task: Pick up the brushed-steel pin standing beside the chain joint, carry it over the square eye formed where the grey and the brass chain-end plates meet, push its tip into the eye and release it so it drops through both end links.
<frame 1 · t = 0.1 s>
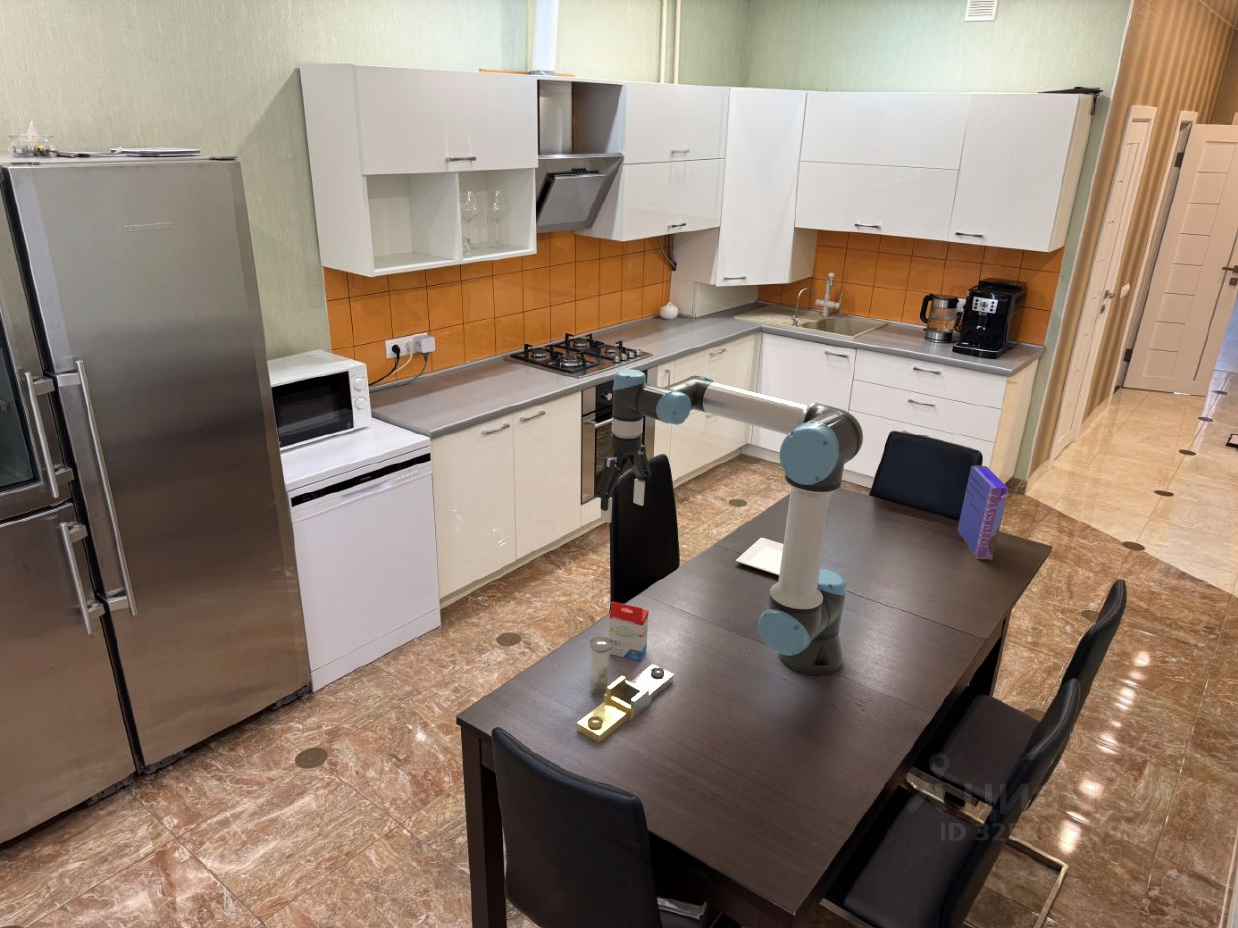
hand: (622, 512, 218), 28 cm above the table, fingers open, 13 cm apart
ink box: (627, 653, 210), on the table
pin: (599, 690, 196), on the table
chain end a: (627, 704, 192), on the table
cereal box: (973, 546, 272), on the table
chain end b: (627, 704, 192), on the table
plate: (776, 563, 256), on the table
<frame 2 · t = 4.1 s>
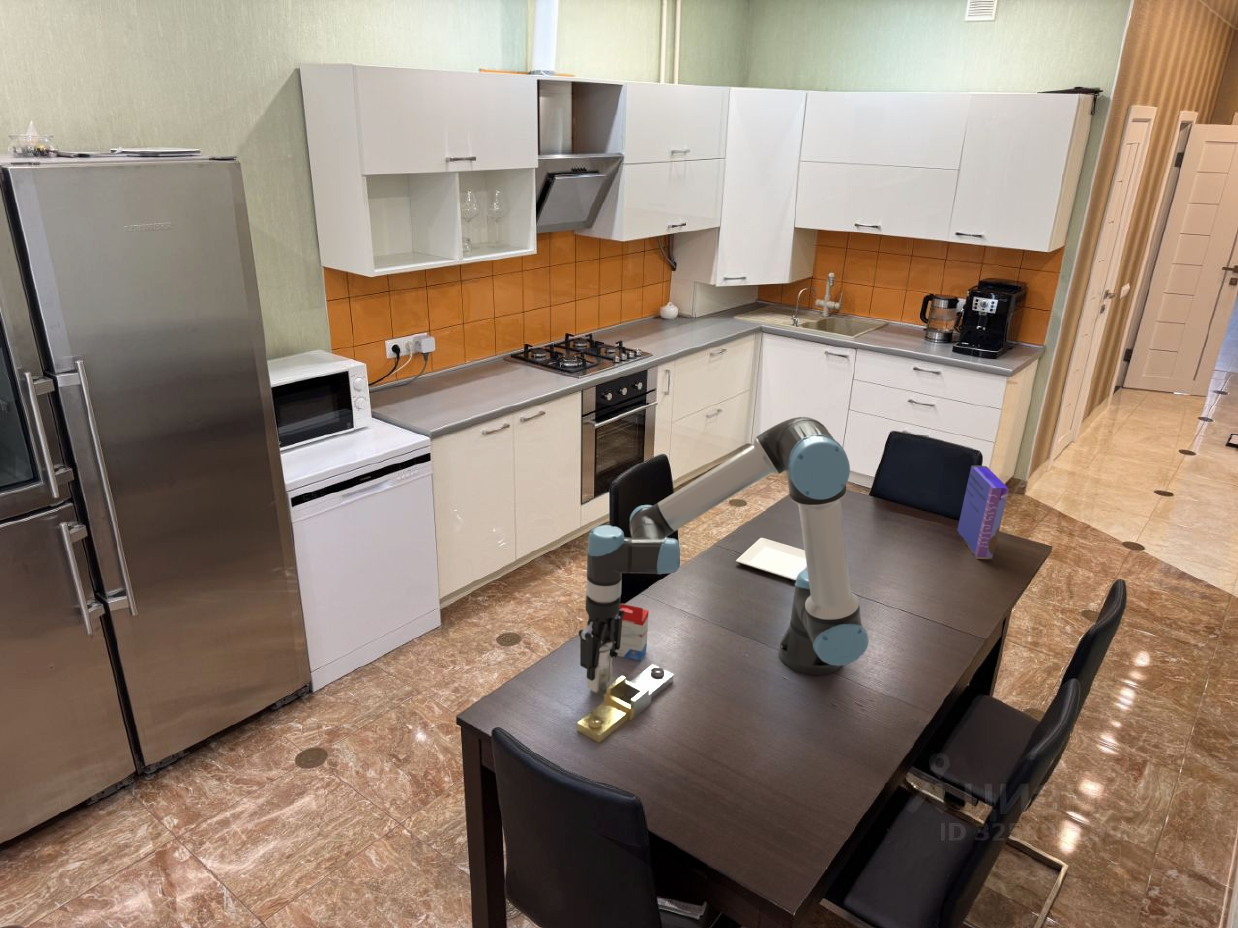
hand: (599, 684, 195), 2 cm above the table, fingers closed on pin, 4 cm apart
pin: (599, 690, 196), on the table, touching gripper
everything else where it was.
when the fingers open (4 cm above the table, at t = 8.1 s): pin drops 1 cm, on the table.
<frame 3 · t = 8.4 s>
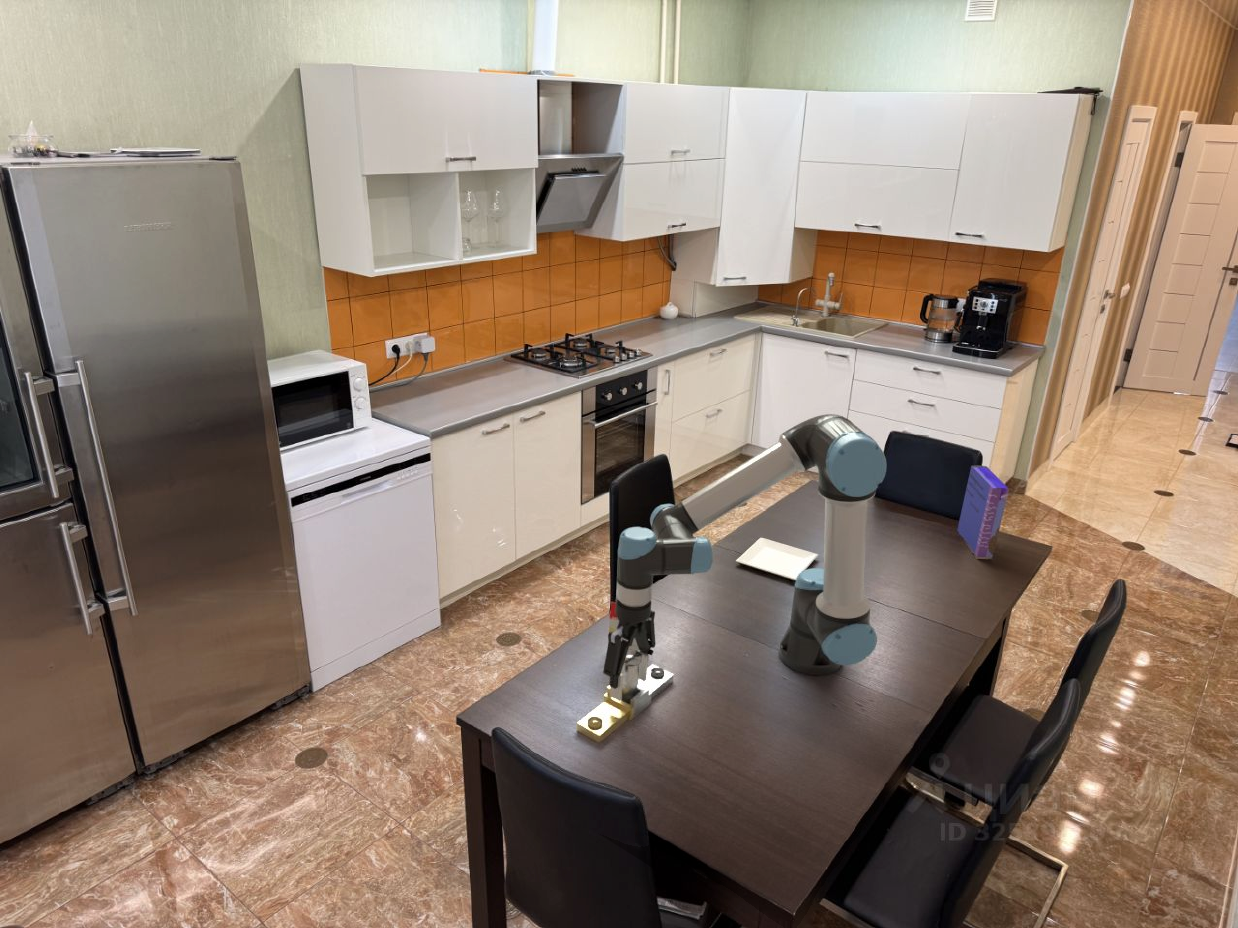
hand: (628, 687, 190), 5 cm above the table, fingers open, 8 cm apart
pin: (627, 704, 192), on the table
everything else where it was.
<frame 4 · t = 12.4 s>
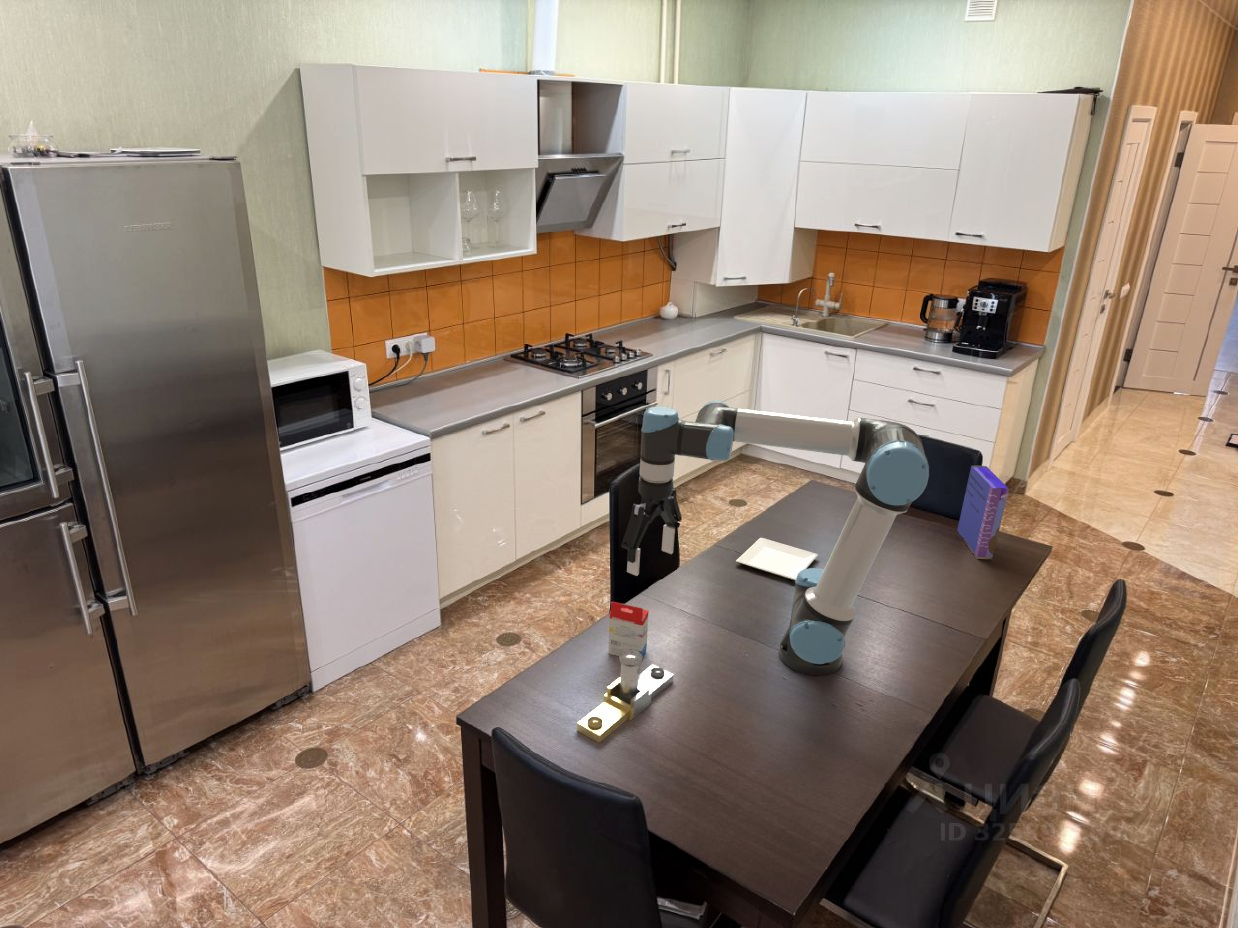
hand: (650, 562, 197), 27 cm above the table, fingers open, 13 cm apart
nothing on the table moved.
at the end: pin 0.1 cm off-centre on the chain end a, point 0.0 cm above the chain end a's base; pin tilted 0°; the gripper is holding nothing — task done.
